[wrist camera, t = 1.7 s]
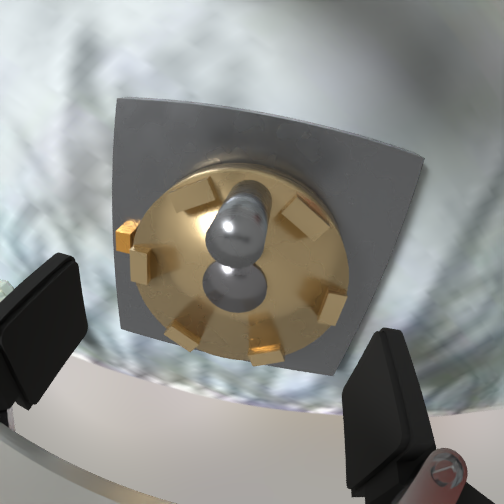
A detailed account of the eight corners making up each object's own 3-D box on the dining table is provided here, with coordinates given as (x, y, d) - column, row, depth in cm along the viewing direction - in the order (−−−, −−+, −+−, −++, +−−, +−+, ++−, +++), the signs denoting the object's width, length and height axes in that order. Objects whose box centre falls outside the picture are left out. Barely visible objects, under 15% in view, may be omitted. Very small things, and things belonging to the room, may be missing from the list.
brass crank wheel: (311, 351, 25) (312, 428, 19) (147, 315, 26) (110, 381, 19) (370, 190, 19) (408, 246, 12) (150, 146, 19) (84, 180, 12)
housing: (128, 96, 19) (109, 99, 17) (415, 152, 19) (430, 162, 16) (128, 317, 29) (116, 335, 27) (332, 362, 29) (333, 384, 26)
